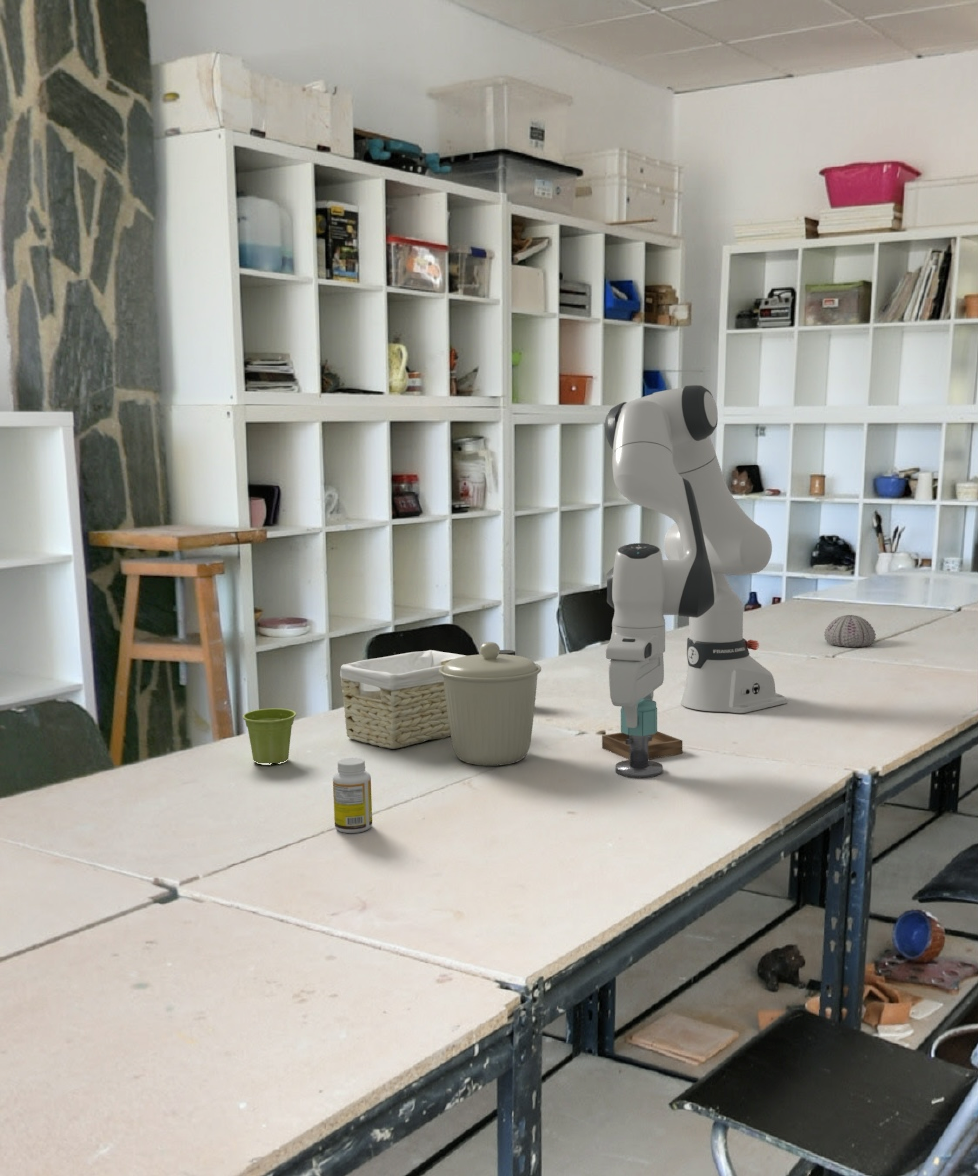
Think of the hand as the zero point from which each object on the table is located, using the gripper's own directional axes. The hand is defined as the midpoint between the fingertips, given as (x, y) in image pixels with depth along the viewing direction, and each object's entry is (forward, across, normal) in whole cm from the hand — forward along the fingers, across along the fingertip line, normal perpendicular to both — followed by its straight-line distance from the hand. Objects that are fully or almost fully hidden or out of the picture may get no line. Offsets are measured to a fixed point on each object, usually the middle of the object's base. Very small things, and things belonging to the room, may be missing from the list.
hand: (638, 721), depth 203 cm
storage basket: (+9, -10, -48) cm, 50 cm away
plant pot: (+9, +16, -63) cm, 66 cm away
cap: (+2, 0, 0) cm, 2 cm away
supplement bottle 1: (+9, +43, -31) cm, 54 cm away
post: (+9, 0, 0) cm, 9 cm away
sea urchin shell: (+9, -137, +18) cm, 139 cm away
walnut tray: (+9, -13, -3) cm, 16 cm away
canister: (+9, +1, -27) cm, 28 cm away
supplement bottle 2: (+9, -38, -40) cm, 56 cm away
